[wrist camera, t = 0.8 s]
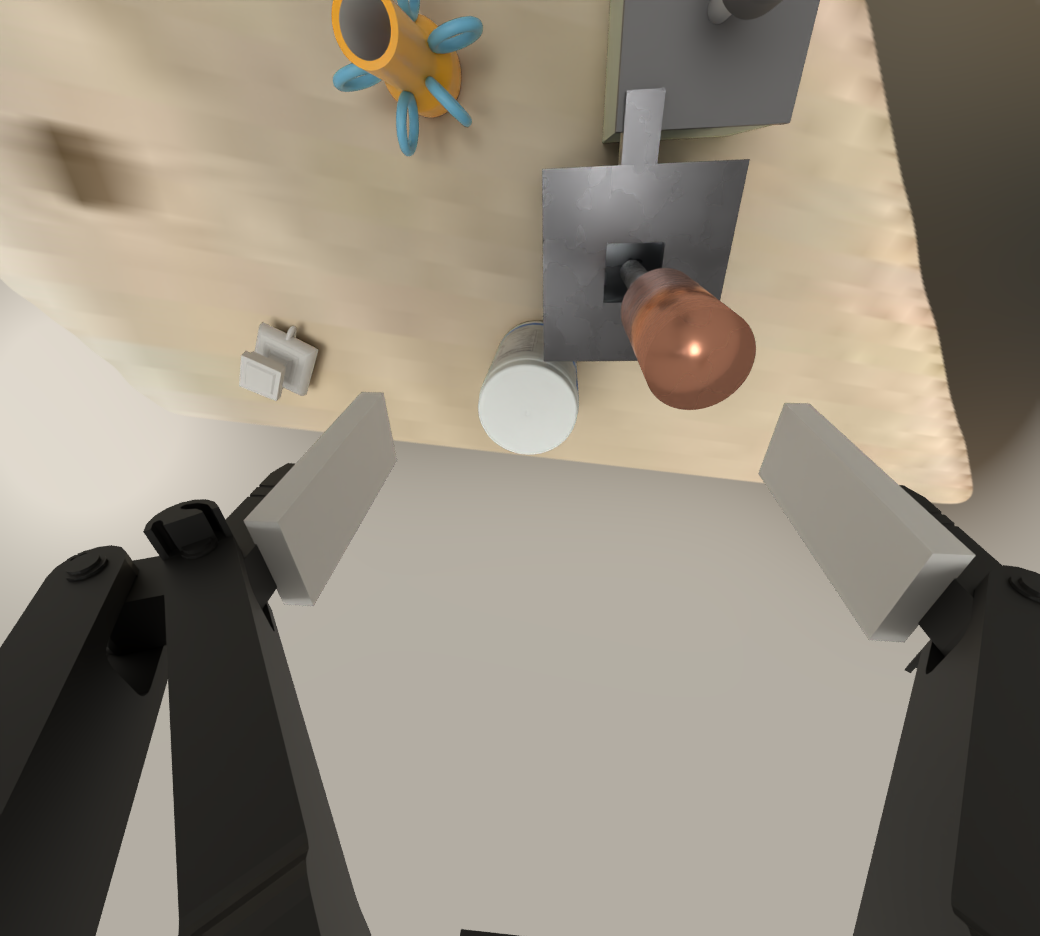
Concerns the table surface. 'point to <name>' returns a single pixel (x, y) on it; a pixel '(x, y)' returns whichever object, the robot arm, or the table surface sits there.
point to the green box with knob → (708, 62)
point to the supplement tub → (528, 394)
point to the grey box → (629, 232)
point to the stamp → (277, 363)
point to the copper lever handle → (684, 337)
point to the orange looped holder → (403, 58)
